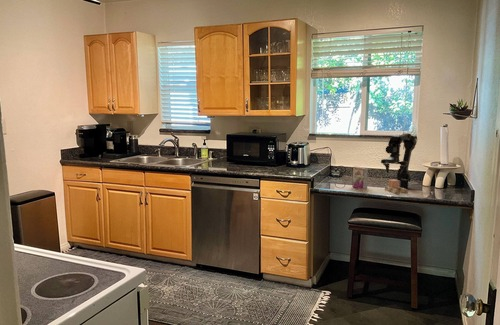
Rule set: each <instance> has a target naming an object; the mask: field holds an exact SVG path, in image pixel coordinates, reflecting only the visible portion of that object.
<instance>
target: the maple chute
mask: <svg viewBox="0 0 500 325" xmlns="http://www.w3.org/2000/svg"><path fill="white" fill-rule="evenodd" d="M384 190H385V191H387V192H390V193H393V194H396V195H400V193H402V194H405V195H408V194H409V189H404V188H401V187H399V186H398V190H397V189H394V188H391V187H389V185H385V186H384Z"/></svg>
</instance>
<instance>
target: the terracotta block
mask: <svg viewBox="0 0 500 325" xmlns="http://www.w3.org/2000/svg"><path fill="white" fill-rule="evenodd" d="M399 184H400V180H397V179H388V187H391V188H394V189H397V190H398V187H399Z"/></svg>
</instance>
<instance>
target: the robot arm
mask: <svg viewBox="0 0 500 325" xmlns="http://www.w3.org/2000/svg"><path fill="white" fill-rule="evenodd" d="M402 143H403V147H404V155H403V157H402V158H403V159H402V160H401V159H400V156H401V154H400V150H401V144H402ZM416 145H417V139H416V138H415V136H413V135H412V134H411V133H405V132H404V133H401V134H400V135H391V137H390V139H389V141H388V143H387V146H386V147H385V152H386V154H389V157H388V158H386V159H385V158H382V159H381V160H380V164H382V165H383V166H384V168H385V171H386V173H387V174H389V173H390V172H389V171H390V164H395V165H399V168H398V169H397V170H398V171H397V174H396V178H397V179H396V180H398V181H399V185H398V187H401V188H404V189H407V190H409V182H411V181H412V176H410V171H409V165H410V160H411V156H412V152H413V150H414V149H415V148H416Z"/></svg>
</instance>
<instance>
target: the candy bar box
mask: <svg viewBox="0 0 500 325" xmlns="http://www.w3.org/2000/svg"><path fill="white" fill-rule="evenodd" d="M352 169H353V170H352V187H353V188H355V189H360V190H363V189H364V190H365V189H368V177H369V175H368V173H369V168H368V167H362V166H353V167H352Z"/></svg>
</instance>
